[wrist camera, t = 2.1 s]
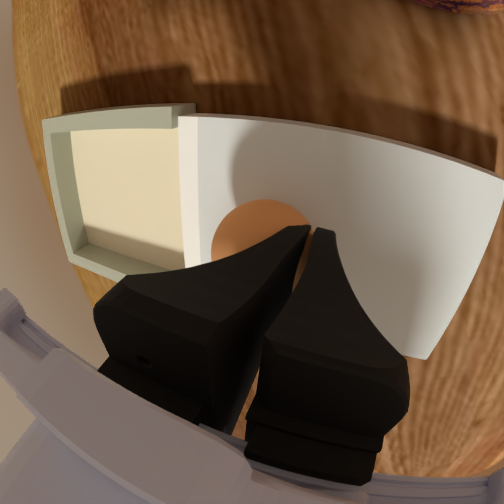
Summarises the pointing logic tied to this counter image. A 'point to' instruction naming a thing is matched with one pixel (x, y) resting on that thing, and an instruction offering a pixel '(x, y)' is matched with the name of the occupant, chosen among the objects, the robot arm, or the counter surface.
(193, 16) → the counter surface
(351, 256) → the plate
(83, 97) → the counter surface
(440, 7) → the bell
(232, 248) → the ball
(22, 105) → the counter surface
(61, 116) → the tray
